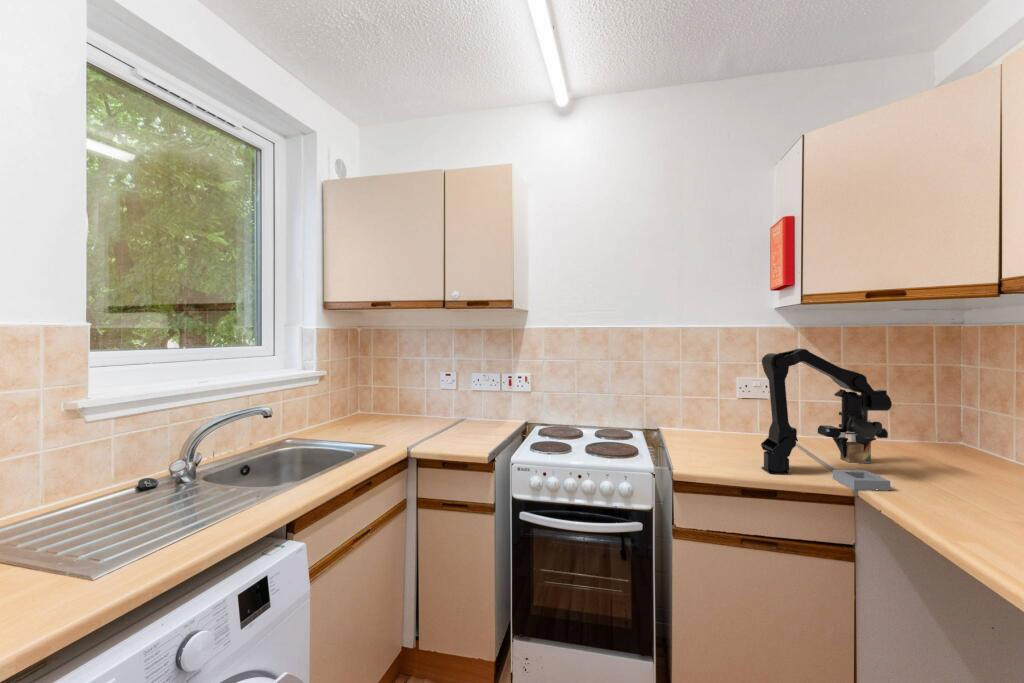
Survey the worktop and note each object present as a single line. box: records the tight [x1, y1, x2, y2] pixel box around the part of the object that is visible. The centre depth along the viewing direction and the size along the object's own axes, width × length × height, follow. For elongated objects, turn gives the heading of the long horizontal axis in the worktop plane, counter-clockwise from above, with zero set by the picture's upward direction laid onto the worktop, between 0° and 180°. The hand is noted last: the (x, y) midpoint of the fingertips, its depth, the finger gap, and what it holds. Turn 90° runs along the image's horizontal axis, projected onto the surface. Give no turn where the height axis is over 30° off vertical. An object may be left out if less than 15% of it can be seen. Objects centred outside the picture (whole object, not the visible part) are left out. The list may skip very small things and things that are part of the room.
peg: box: [839, 441, 864, 464], centre depth 148 cm, size 4×4×6 cm
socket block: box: [832, 469, 891, 492], centre depth 136 cm, size 10×10×3 cm
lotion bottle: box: [850, 408, 872, 465], centre depth 161 cm, size 6×6×20 cm
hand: (851, 457), depth 148 cm, fingers closed on peg, 4 cm apart
